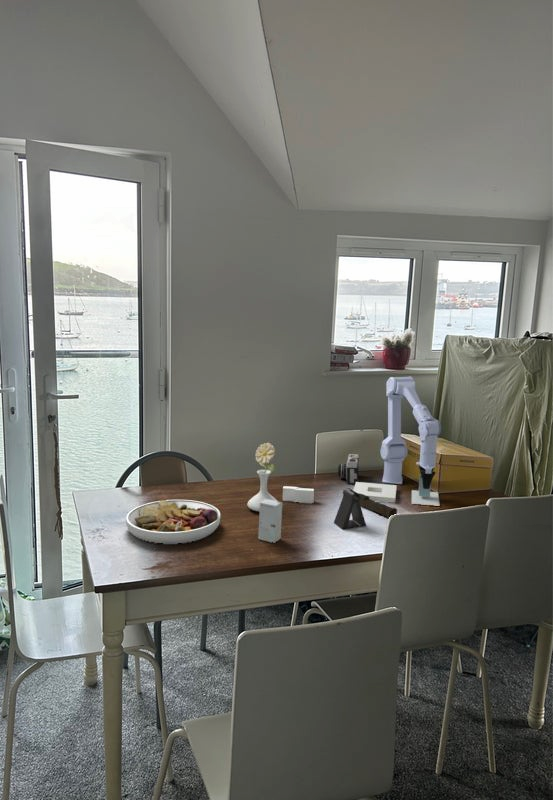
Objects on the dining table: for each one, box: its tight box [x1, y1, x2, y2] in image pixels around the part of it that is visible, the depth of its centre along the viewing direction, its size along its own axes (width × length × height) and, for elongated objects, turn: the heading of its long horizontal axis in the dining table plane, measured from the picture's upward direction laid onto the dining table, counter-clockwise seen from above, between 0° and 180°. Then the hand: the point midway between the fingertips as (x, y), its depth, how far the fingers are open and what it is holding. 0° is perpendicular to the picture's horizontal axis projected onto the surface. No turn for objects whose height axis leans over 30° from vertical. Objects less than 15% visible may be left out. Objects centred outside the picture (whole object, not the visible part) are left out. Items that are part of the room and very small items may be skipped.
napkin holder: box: [282, 486, 315, 504], centre depth 226 cm, size 15×11×6 cm
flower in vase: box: [246, 442, 278, 512], centre depth 214 cm, size 13×11×25 cm
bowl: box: [125, 499, 221, 545], centre depth 197 cm, size 30×30×8 cm
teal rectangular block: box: [418, 474, 432, 497], centre depth 230 cm, size 4×4×7 cm
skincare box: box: [257, 499, 283, 544], centre depth 189 cm, size 6×4×12 cm
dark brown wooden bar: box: [358, 493, 398, 518], centre depth 217 cm, size 19×4×5 cm, turn 35°
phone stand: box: [333, 487, 367, 530], centre depth 203 cm, size 9×6×12 cm, turn 112°
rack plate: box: [352, 481, 398, 503], centre depth 235 cm, size 16×16×2 cm
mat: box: [411, 489, 440, 506], centre depth 231 cm, size 16×10×1 cm, turn 167°
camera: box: [337, 453, 360, 485], centre depth 253 cm, size 14×9×10 cm, turn 162°
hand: (425, 486), depth 230 cm, fingers closed on teal rectangular block, 4 cm apart
